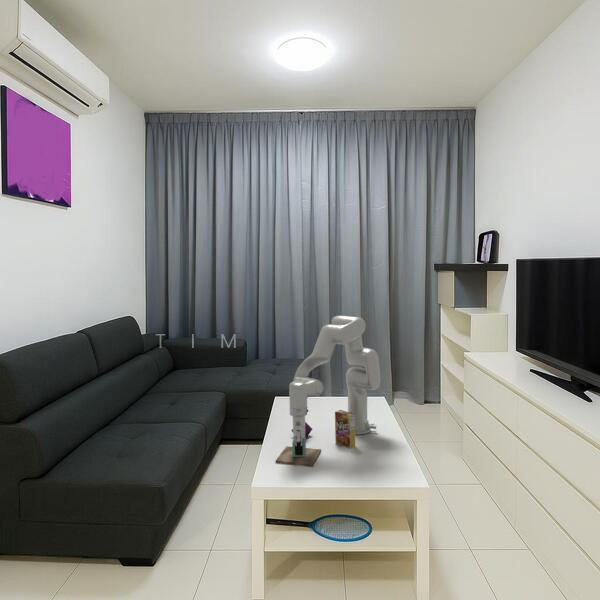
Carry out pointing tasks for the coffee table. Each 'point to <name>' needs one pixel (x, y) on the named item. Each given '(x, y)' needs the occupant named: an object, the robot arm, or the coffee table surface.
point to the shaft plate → (288, 458)
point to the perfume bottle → (306, 428)
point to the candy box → (345, 428)
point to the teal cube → (302, 445)
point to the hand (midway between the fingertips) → (299, 451)
